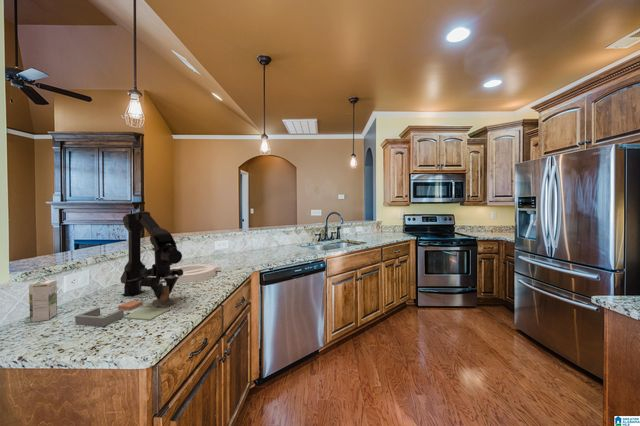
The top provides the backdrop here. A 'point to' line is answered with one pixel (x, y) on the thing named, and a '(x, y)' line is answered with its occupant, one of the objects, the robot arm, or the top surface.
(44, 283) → the syrup box
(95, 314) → the bay
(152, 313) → the mat
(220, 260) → the top surface
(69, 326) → the top surface
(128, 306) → the tile
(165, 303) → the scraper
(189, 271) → the white circle with bar
